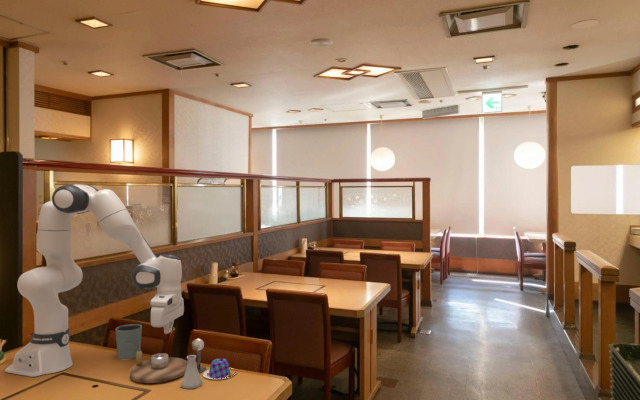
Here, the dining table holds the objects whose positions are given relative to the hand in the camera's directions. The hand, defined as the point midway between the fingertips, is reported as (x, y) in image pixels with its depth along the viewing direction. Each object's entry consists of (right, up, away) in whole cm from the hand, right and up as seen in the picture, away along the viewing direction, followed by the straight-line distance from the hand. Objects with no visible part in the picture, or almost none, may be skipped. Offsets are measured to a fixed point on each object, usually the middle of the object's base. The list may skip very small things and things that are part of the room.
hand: (167, 332), depth 171 cm
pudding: (+22, -14, -8) cm, 27 cm away
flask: (+14, -13, -18) cm, 26 cm away
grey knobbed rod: (+13, -13, -5) cm, 19 cm away
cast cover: (0, -10, -8) cm, 13 cm away
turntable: (0, -13, -8) cm, 15 cm away
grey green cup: (-20, -13, +11) cm, 27 cm away
